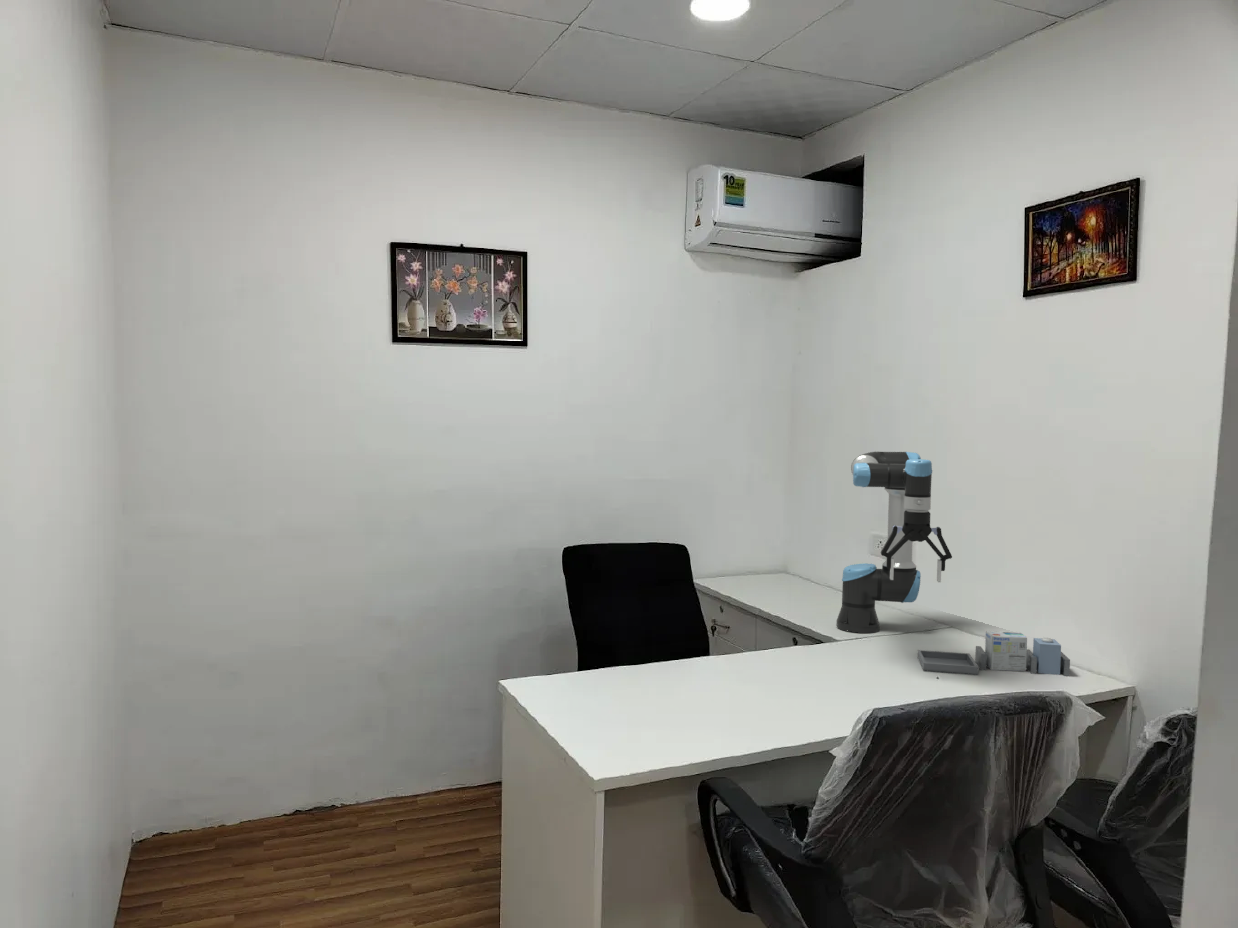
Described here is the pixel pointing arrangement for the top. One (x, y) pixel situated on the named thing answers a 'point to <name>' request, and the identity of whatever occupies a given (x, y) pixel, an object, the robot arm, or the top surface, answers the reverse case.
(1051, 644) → the cartridge
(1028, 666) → the rack
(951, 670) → the tray
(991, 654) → the light bulb box
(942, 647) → the top surface
